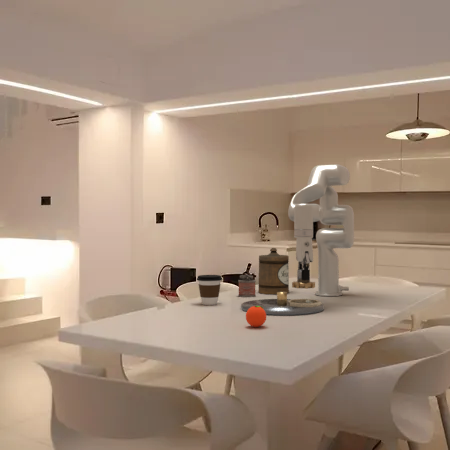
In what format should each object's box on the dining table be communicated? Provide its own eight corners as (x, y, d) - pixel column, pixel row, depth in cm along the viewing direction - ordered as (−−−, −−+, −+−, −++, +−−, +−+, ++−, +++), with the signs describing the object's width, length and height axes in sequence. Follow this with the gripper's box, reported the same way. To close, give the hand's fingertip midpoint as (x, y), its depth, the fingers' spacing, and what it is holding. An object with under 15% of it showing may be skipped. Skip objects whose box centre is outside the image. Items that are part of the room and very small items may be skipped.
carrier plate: (311, 301, 238) (311, 286, 238) (334, 314, 205) (334, 297, 205) (236, 303, 234) (236, 288, 234) (247, 316, 201) (247, 299, 201)
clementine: (255, 323, 188) (255, 302, 188) (272, 325, 184) (272, 304, 184) (241, 327, 182) (241, 305, 182) (258, 329, 178) (258, 307, 178)
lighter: (255, 296, 256) (255, 274, 256) (255, 297, 252) (255, 275, 252) (238, 296, 256) (238, 274, 256) (238, 297, 253) (237, 275, 253)
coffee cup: (219, 306, 226) (219, 277, 226) (193, 305, 228) (193, 277, 228) (224, 302, 237) (224, 274, 237) (200, 301, 239) (200, 274, 239)
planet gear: (311, 285, 225) (311, 268, 225) (317, 288, 216) (317, 270, 216) (289, 286, 224) (289, 269, 224) (295, 288, 215) (295, 270, 215)
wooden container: (288, 294, 259) (287, 248, 259) (257, 294, 262) (256, 248, 261) (289, 290, 274) (289, 247, 274) (260, 290, 276) (259, 247, 276)
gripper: (318, 234, 212) (318, 281, 212) (307, 233, 229) (307, 277, 229) (299, 234, 211) (299, 281, 211) (289, 233, 228) (289, 277, 228)
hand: (303, 278), depth 220 cm, fingers closed on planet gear, 5 cm apart
